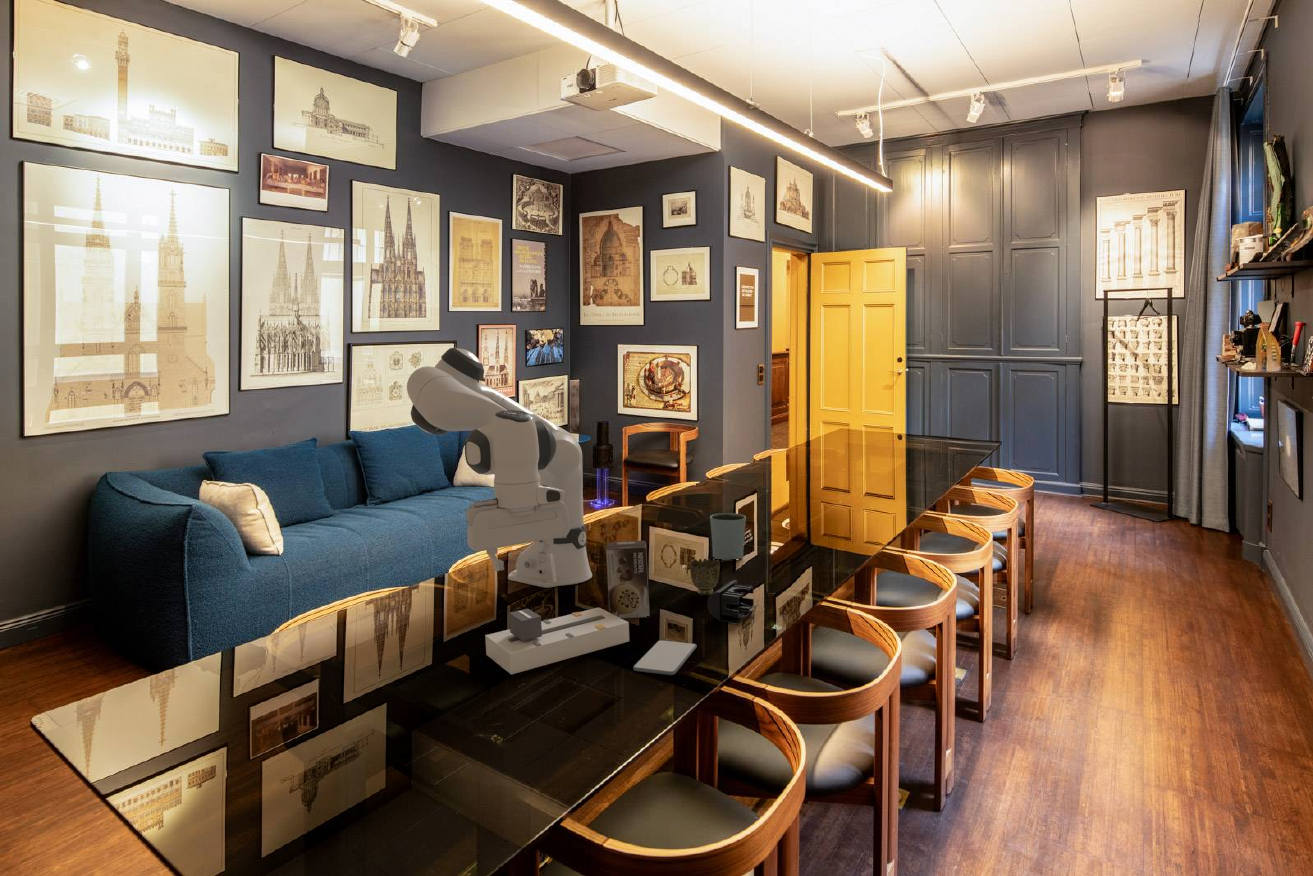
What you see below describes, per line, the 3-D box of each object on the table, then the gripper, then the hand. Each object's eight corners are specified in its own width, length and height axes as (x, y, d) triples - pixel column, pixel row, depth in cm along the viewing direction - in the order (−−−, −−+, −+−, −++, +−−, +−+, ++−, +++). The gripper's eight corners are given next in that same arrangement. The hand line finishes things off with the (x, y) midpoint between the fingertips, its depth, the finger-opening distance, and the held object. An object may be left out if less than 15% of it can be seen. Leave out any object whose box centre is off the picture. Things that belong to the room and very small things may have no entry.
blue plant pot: (705, 555, 220) (704, 514, 219) (738, 551, 223) (737, 511, 222) (719, 564, 210) (718, 521, 209) (752, 560, 213) (751, 518, 212)
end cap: (725, 607, 175) (725, 578, 174) (754, 611, 172) (754, 582, 171) (707, 621, 166) (706, 590, 166) (737, 625, 163) (736, 594, 162)
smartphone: (697, 643, 152) (674, 672, 138) (697, 648, 152) (674, 677, 138) (658, 639, 155) (631, 667, 141) (658, 644, 155) (631, 672, 141)
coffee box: (648, 608, 176) (646, 540, 174) (649, 617, 169) (647, 547, 167) (609, 610, 175) (606, 541, 173) (608, 619, 169) (605, 548, 167)
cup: (718, 599, 180) (718, 566, 179) (688, 598, 182) (687, 565, 181) (722, 589, 187) (721, 558, 186) (692, 589, 189) (691, 557, 188)
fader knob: (523, 641, 145) (521, 620, 145) (510, 632, 150) (509, 612, 150) (542, 636, 148) (540, 616, 147) (528, 627, 152) (527, 608, 152)
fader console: (511, 674, 141) (510, 652, 141) (486, 654, 151) (485, 634, 150) (629, 641, 156) (628, 621, 155) (599, 625, 166) (598, 606, 165)
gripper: (472, 505, 137) (476, 579, 139) (572, 491, 149) (575, 559, 150) (459, 500, 143) (463, 572, 144) (557, 486, 154) (560, 553, 156)
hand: (521, 565), depth 147 cm, fingers open, 8 cm apart
